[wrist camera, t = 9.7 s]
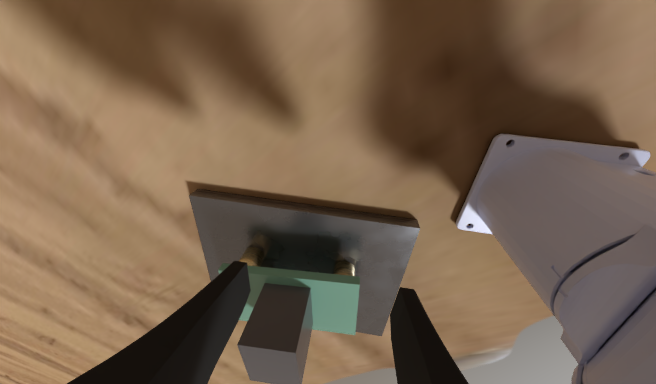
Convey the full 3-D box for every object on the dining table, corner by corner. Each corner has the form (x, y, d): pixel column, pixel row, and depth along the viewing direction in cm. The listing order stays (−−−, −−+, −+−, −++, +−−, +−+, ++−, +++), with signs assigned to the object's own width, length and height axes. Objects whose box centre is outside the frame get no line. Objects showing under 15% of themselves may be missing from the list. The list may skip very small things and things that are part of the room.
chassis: (417, 219, 20) (427, 250, 17) (380, 326, 28) (383, 360, 25) (197, 188, 21) (168, 211, 18) (222, 298, 29) (205, 327, 26)
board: (359, 276, 19) (358, 353, 14) (355, 326, 23) (353, 402, 18) (222, 263, 20) (177, 328, 15) (238, 311, 24) (205, 378, 19)
